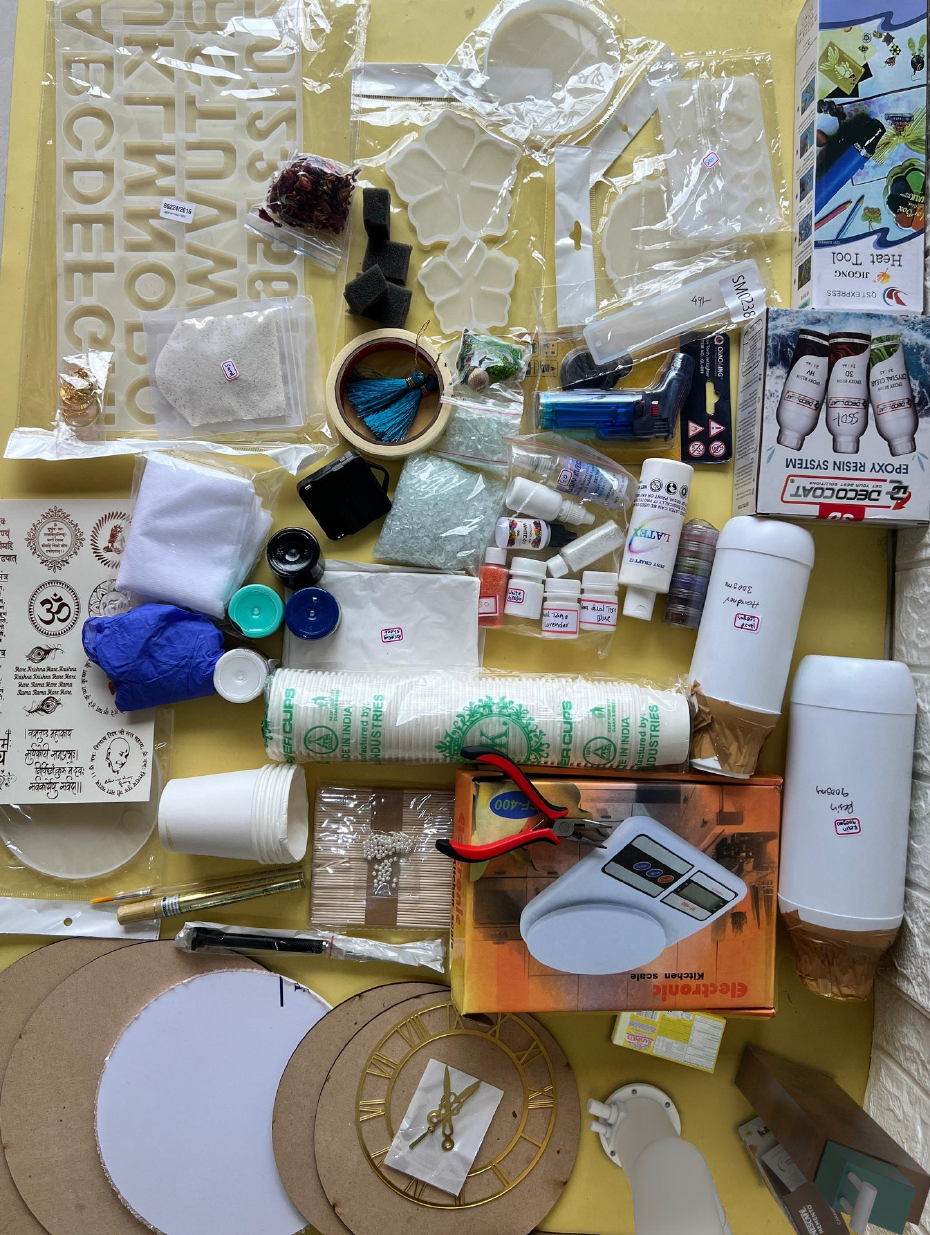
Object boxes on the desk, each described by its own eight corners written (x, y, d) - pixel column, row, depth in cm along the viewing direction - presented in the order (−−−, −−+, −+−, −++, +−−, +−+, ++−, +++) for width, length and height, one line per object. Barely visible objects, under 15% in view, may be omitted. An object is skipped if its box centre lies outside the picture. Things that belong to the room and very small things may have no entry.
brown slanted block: (733, 1082, 123) (811, 1185, 97) (746, 1045, 123) (826, 1137, 98) (820, 1116, 123) (919, 1227, 98) (832, 1078, 123) (934, 1179, 98)
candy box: (708, 1068, 123) (723, 1016, 123) (713, 1075, 121) (728, 1022, 121) (609, 1037, 123) (625, 985, 123) (612, 1044, 121) (628, 991, 121)
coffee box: (735, 1128, 122) (780, 1195, 106) (771, 1108, 122) (821, 1171, 106) (762, 1183, 121) (812, 1259, 105) (798, 1163, 122) (853, 1235, 106)
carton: (813, 1184, 97) (850, 1234, 89) (827, 1140, 98) (866, 1184, 89) (880, 1210, 97) (924, 1262, 89) (894, 1166, 98) (940, 1213, 89)
